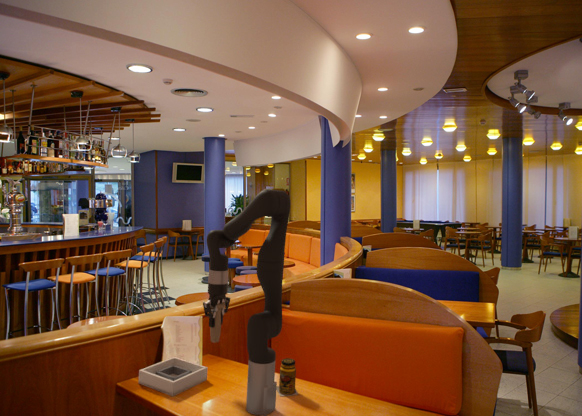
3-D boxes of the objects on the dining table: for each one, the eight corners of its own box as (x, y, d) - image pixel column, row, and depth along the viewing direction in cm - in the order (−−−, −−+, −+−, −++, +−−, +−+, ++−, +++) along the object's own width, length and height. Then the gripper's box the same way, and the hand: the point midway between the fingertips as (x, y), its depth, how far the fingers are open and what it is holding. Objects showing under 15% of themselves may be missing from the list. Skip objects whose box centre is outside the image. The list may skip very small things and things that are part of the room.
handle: (222, 344, 164) (224, 305, 163) (205, 343, 164) (207, 304, 164) (224, 340, 168) (226, 302, 168) (208, 339, 169) (209, 301, 168)
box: (206, 379, 169) (207, 367, 169) (172, 396, 153) (173, 382, 153) (173, 368, 178) (174, 356, 178) (138, 383, 163) (139, 370, 162)
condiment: (280, 396, 158) (282, 364, 158) (274, 386, 166) (276, 356, 166) (299, 395, 160) (300, 363, 160) (292, 385, 168) (294, 355, 168)
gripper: (213, 285, 158) (210, 332, 158) (237, 280, 170) (234, 323, 170) (198, 282, 162) (195, 328, 162) (222, 277, 174) (220, 320, 174)
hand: (215, 325), depth 166 cm, fingers closed on handle, 4 cm apart
